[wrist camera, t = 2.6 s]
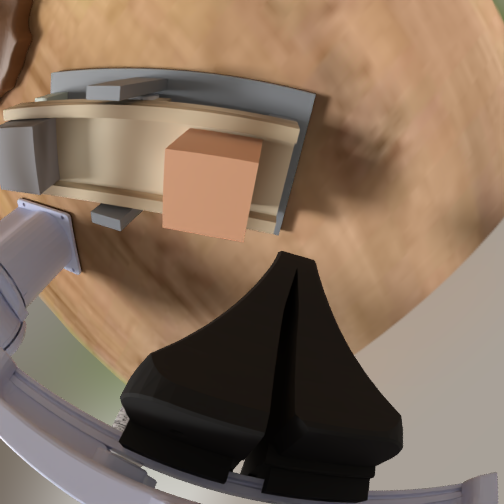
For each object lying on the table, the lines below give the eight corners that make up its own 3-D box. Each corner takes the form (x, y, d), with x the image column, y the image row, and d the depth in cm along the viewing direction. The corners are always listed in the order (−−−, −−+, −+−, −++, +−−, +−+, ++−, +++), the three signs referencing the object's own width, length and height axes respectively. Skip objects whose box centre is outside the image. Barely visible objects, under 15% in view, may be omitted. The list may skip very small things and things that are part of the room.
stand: (60, 174, 23) (15, 203, 18) (57, 71, 17) (3, 85, 12) (280, 229, 22) (265, 282, 17) (315, 93, 16) (313, 102, 11)
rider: (184, 192, 17) (162, 227, 14) (189, 128, 15) (164, 148, 12) (250, 204, 17) (243, 242, 14) (262, 139, 15) (258, 163, 12)
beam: (36, 172, 19) (-1, 199, 15) (30, 99, 15) (-13, 116, 12) (273, 208, 20) (272, 250, 16) (296, 118, 16) (302, 136, 12)
